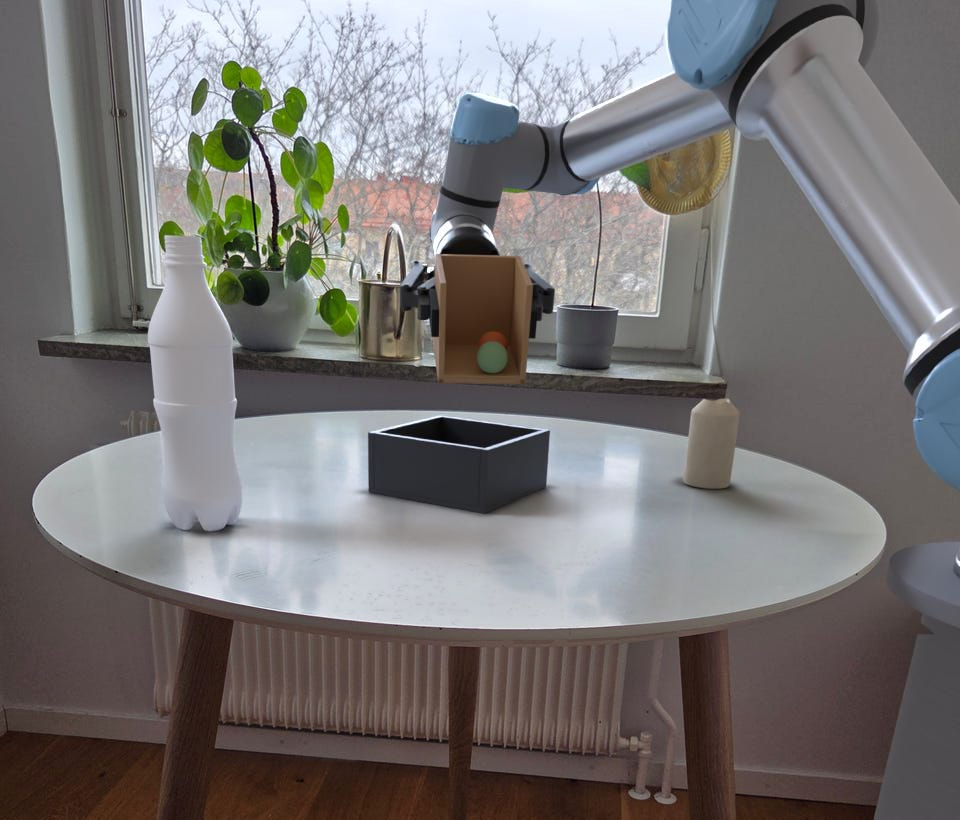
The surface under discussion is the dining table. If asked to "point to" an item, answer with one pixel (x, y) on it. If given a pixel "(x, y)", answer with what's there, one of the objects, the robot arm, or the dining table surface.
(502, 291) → the box
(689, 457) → the cream bottle
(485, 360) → the ball
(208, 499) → the water bottle
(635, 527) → the dining table surface
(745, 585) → the dining table surface
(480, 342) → the ball
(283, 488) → the dining table surface
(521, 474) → the basket
